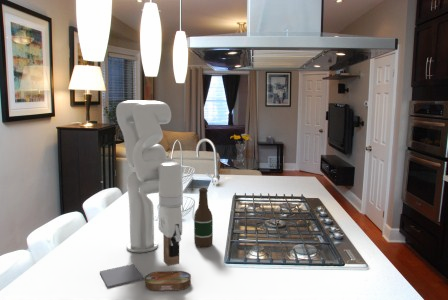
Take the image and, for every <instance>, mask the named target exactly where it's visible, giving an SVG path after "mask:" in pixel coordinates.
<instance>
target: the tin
mask: <svg viewBox="0 0 448 300" xmlns="http://www.w3.org/2000/svg"><path fill="white" fill-rule="evenodd" d="M191 279H192V275H191V273H189V272H187V271H184V270H183V271H182V270H175V271H174V270H167V271H166V270H165V271H164V270H161V271H160V270H159V271H158V270H157V271H153V272H149V273H147V275H145V276H144V279H143V280H144V285H145V288H146V289H147V290H149V291H155V292H156V291H157V292H158V291H182V290H185V289H187V288H188V287H190V285H191Z"/></svg>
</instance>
